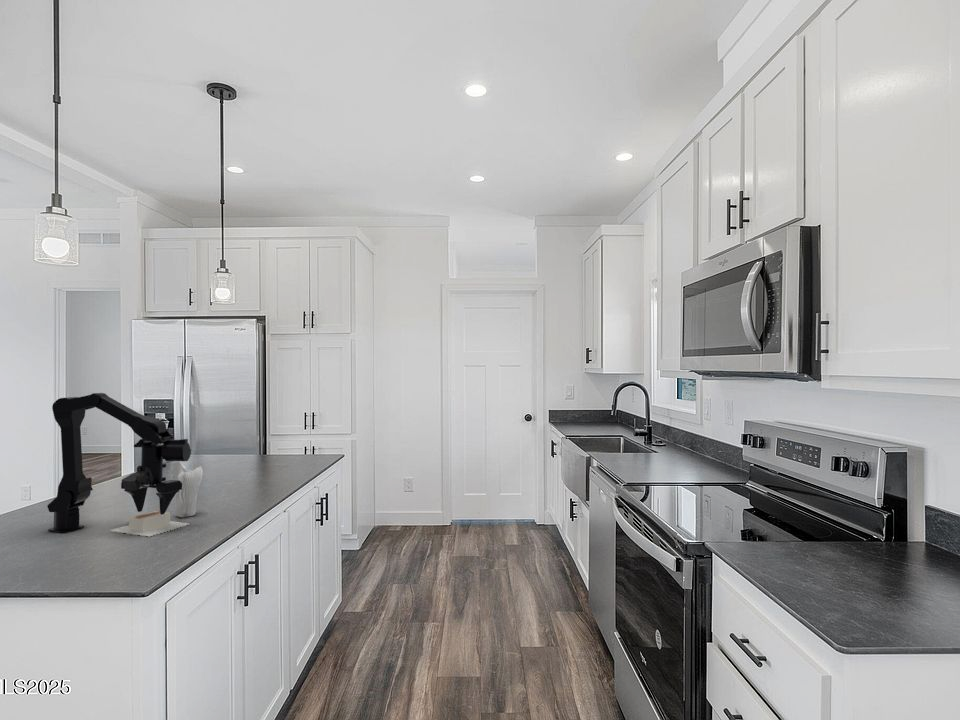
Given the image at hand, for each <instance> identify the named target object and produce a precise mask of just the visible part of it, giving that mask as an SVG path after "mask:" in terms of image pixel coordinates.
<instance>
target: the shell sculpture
mask: <svg viewBox="0 0 960 720" xmlns="http://www.w3.org/2000/svg"><path fill="white" fill-rule="evenodd" d="M171 464H172V466H171V467H172V470H171V473H172V474H171V475H172V480H179V481H181V482H182V490H179V492H177V493H176V494H175V510H174V513H175V515H176V516H177V517H179V518H186V517H187V518H188V517H192V516H194V515H195V514H196V511H197V510H196V509H197V496H198V492H199V489H200V487H201V484H202V479H203V477H204V476H203V474H204V470H203V468H202V466H201V465H200V466H197V467H196V468H194V469H193V470H190V469H187V468H186V467H185V465H184V464H183V463H182V461H173V463H171Z"/></svg>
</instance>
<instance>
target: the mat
mask: <svg viewBox="0 0 960 720" xmlns="http://www.w3.org/2000/svg"><path fill="white" fill-rule="evenodd" d="M187 525H188V526H190V523H188V522H178V521H173V520H172V521H171V520H170V525H166V526H162V527H159V528H155V529H152V530H148V531H144V532H141V531H135V530H129V524H128V525H123V526H120V527H116V528H113V529H112V528H111V529H109V532H111V533H116V532H117V534H123V533H126V534H125V535H130V534H132V536H137V535H140V537H145V536H148V537H147V538H151V537H150V536H152V537H154V536H153V535H155V536H157V535H156V534H158V535H161V534H160V533H162V534H165V533H167V531H168V532H171V531H174V529H175V530H178V529H181V528H184V527H187ZM180 527H181V528H180ZM177 528H178V529H177ZM170 530H171V531H170ZM164 532H165V533H164Z"/></svg>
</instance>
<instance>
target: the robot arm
mask: <svg viewBox="0 0 960 720" xmlns="http://www.w3.org/2000/svg"><path fill="white" fill-rule="evenodd" d="M93 408H96V409H99V410H100V411H102V412H103V413H106V414H107V415H109V416H111V417H113V418H114V419H116V420H118V421H120V422H121V423H124V424H125V425H127V426H128V427H130V428H131V430H132V431H133V432H134V434H136V435H137V436H138V437H139V438H140V439H139V440H138V441H137V442H136V443H135V444H134V445H133V447H134V448H141V454H140V456H141V457H140V459H141V462H140V465H137V467H136V472H133V473H131V474H129V475H127V476H125V477H124V478H122V479H121V483H120V489H122V490H124V492H125V493H128V494H130V496H131V498H132V499H133V502H134V503H133V504H135V507H136V510H137V512H138V513H140V512H142V511H143V509H144V505H145V500H146V497H147V492H148V488H149V489H150V488H151V489H156V491H157V492H156V493H155V495H156V496H157V497H158V498H159V501H158V502H159V511H160V514H161V515H162V514H165V512H167V509H168V507H169V506H170V504H171V502H172V500H173V498H174V497H176V493H177V492H179V490H182V482H181V481H179V480H173V479H168V480H167V479H166V478H167V477H166V476H165V477H164V476H163V475H164V474H163V473H164V471H163V470H164V468H166V467H167V464H166V463H164V460H165V461H166V462H178V461H180V462H188V461H189V459H190V458H191V454H192V448H191V446H190V444H189V439H188V438H181V439H175V438H174V437H173V436H172V434H171V433H170V431H169V430H168V429H167V425H166V422H164V421H163V420H161V419H158V418H155V417H152V416H149V415H144V414H141V413H139V412H137V411H136V410H133V409H132V408H130V407H128V406H127V405H125V404H123V403H120V402H119V401H117V400H116V399H114V398H112V397H110V396H109V395H107V394H106V393H104V392H96V393H95V392H94V393H91V394H88V395H84V396H79V397H78V396H72V397H70V396H68V397H60V398H58V399H56V400H55V401H54V402H53V403H52V405H51V409H52V413H53V417H54V420H55V422H56V423H57V425H58V426H59V428H60V439H61V440H60V441H61V460H62V478H61V479H60V482H59V483H58V486H57V492H56V493H57V494H56V497H55V498H54V499H53V500H51V502H49V503H48V504H47V509H48V512H49V513H53V527H51V528H49V529H47V530H48V532H55V533H61V534H64V533H67V532H71V531H75V530H79V529H83V528H85V526H84V525H82V524H80V508H79V507H81V506H84V505H85V503H86V501H87V499H89V497H90V495H91V491H94V489H93V487H92V481H93V480H92V476H91V477H87V476H86V475H85V474H84V471H83V452H82V434H81V433H82V432H81V426H82V423H83V421H84V419H85V416H86V412H87V411H86V410H91V409H93Z"/></svg>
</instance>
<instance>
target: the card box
mask: <svg viewBox="0 0 960 720" xmlns="http://www.w3.org/2000/svg"><path fill="white" fill-rule="evenodd" d="M170 521H171V512H169V511H168V512H167V511H166V512H165V514H162V515H161V514H160V510H155V511H150V512H147V513H142V514H137V515H134V516H129V519H128V525H129V530H135V531H141V532H144V531H148V530H152V529H155V528H159V527H162V526H166V525H170Z"/></svg>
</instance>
